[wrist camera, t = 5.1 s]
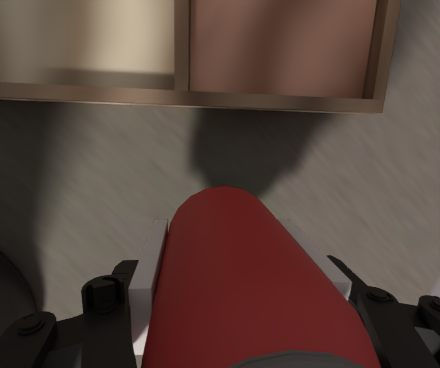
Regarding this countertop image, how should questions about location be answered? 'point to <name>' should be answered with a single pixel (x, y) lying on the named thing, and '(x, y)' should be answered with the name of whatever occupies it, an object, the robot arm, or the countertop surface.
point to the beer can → (246, 295)
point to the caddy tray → (200, 53)
